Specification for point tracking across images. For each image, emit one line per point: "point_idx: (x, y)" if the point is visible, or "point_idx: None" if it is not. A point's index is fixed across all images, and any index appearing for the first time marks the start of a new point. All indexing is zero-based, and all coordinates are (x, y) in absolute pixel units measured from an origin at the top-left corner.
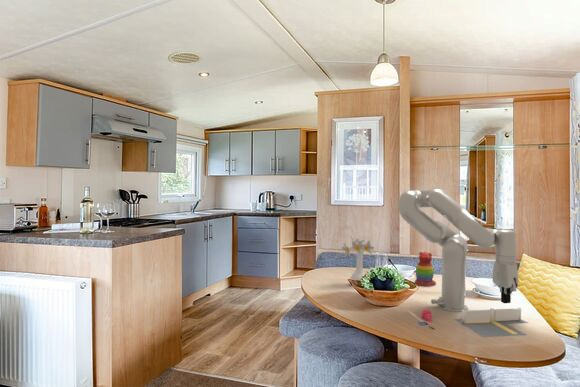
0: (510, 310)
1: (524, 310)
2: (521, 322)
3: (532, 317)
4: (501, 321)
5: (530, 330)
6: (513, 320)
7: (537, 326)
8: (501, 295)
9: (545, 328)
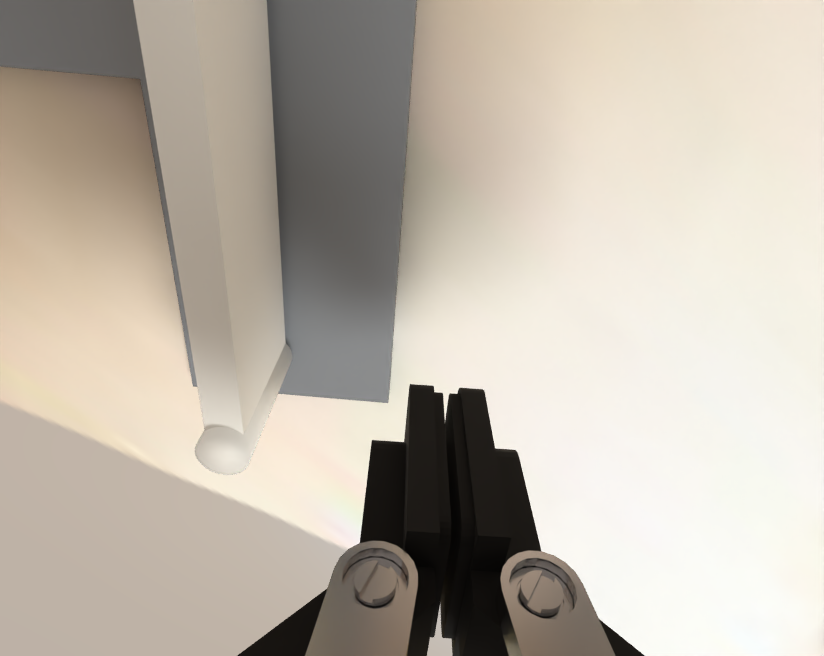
0: (188, 292)
1: None
2: None
3: None
4: None
5: (8, 259)
6: None
7: (148, 412)
8: (485, 483)
9: (100, 437)
